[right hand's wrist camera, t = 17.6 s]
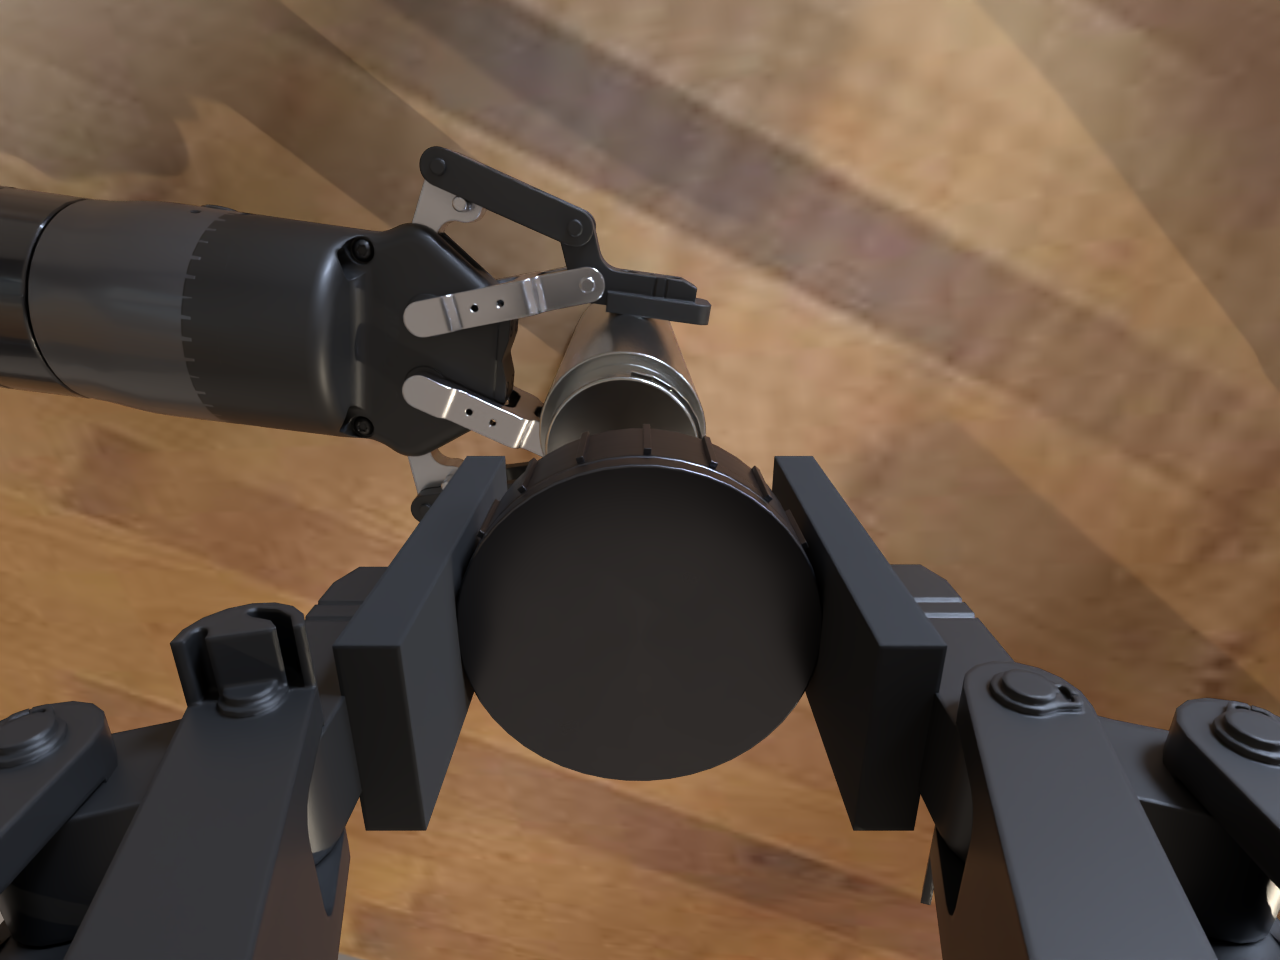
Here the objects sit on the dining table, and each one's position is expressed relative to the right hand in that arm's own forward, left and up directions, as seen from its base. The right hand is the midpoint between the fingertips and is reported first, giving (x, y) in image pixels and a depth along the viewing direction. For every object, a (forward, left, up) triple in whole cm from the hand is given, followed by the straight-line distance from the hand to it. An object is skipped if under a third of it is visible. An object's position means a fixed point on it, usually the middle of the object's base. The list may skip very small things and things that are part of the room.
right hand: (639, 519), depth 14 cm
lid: (0, 0, +4) cm, 4 cm away
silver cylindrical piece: (0, 0, -19) cm, 19 cm away
